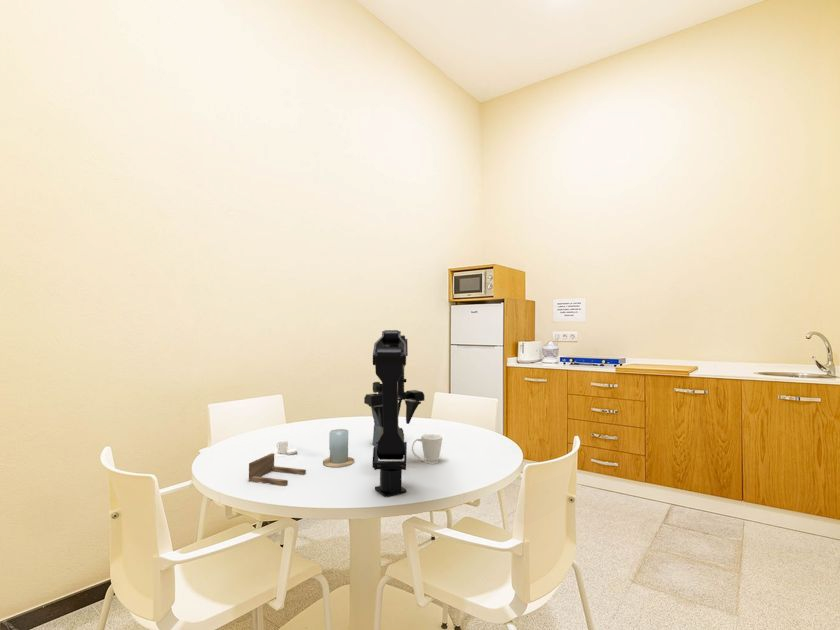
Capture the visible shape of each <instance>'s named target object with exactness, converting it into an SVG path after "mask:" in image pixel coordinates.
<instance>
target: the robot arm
mask: <svg viewBox="0 0 840 630" xmlns="http://www.w3.org/2000/svg"><path fill="white" fill-rule="evenodd" d="M401 333H402V332H401V330H400V331H399V330H396V329H393V330H390V329H388V330H387V329H386V330H385V329H384V330H383V331H382V332H381V337H380V338H378V340H376V341H375V342H374V343H373V350H372V365H373V366H374V368H375V375H376V376H377V377H378V379H379V380H380V381H374V382H372V392H373V393H368V394H367V393H366V394H365V396H364V399H363V401H364V402H363V403H364V404H366V405H368V407H370V408H371V407H372V408H373V409H374V411H375V413H376V415H377V418H378V421H379V424H380V427H383V428H382V429H381V431H380V433H379V438H378V442H376V445H375V446H373V449H372V468H373V470H374V471H376V470H379V485H378V486H375V487H374V489H375V491H377V492H378V493H379V494H381V495H382V496H384V497H391V496H396V495H399V494H403V493H406V492H407V489H406V488H405V487H403V486H402V485H403V484H402V483H403V482H402V480H403V479H402V477H403V476H402V475H403V474H402V473H403V472H402V470H403V471H406V470H407V451H408V447H407V446H408V445H407V441H405V433H404V429H403V428H402V427H400V426H399V416H398V402H399V400H402V401H404V404H405V406H406V407H405V408H406V410H405V423H406V424H408V425H410V422H411V420H412V418H413V416H414V414H415V412H416V410H417V408H418V407H419V405H421V404H422V402H425V401H426V399H425V393H424V392H423V391H422V390H421V391H420V390H417V389H412V390H406V391H405V383H407V378H405V366H407V357H408V355H409V354H408V350H409V349H408V348H409V347H408V338H406V336H405V335H403V334H402V335H401ZM382 404H383V405H382Z"/></svg>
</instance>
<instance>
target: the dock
mask: <svg viewBox="0 0 840 630" xmlns="http://www.w3.org/2000/svg"><path fill="white" fill-rule="evenodd" d="M271 472H276V473H283V474H284V473H285V474H291V475H292V474H294V475H301V476H302V475H303V476H304V475H306V474H307V469H302V468H296V467H295V468H294V467H284V466H277V465H276V466H275V456H274V453H272V452H271V453H269V454H267V455H263V457H260V458H258V459H256V460H253V461H251V462H249V463H248V482H250V481H253V482H252V483H258V482H262V483H261V484H266V483H270V484H269V485H274V484H275V485H276V486H284V487H286V486H288V483H289V482H288V481H289V480H288V479H281V478H274V477H273V478H272V477H265V474H266V475H268V474H270V473H271ZM263 475H264V476H263ZM261 476H262V477H261Z"/></svg>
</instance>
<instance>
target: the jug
mask: <svg viewBox="0 0 840 630" xmlns="http://www.w3.org/2000/svg"><path fill="white" fill-rule="evenodd" d="M328 441H329V443H328V444H329V449H328V450H329V458H330V463H333V464H342V463H346V462H347V461H348V457H349V430H348V429H346V428H345V429H344V428H337V429H331V430H330V431H329V440H328Z"/></svg>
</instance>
